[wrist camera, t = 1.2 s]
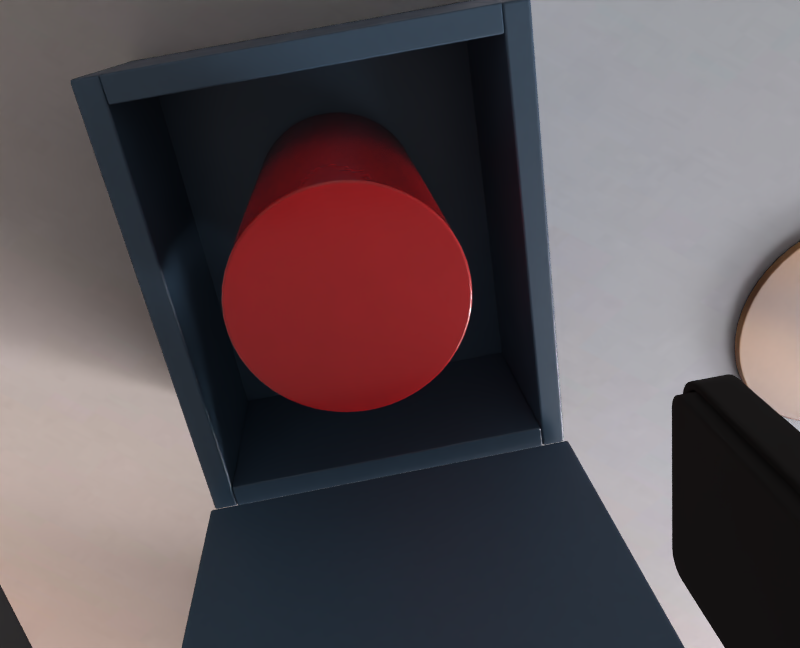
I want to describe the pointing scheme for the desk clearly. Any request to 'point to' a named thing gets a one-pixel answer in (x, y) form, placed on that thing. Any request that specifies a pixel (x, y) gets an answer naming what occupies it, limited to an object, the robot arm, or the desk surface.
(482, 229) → the blue rectangular box
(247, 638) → the lid
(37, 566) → the desk surface
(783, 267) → the coaster
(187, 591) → the desk surface
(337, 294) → the can
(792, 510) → the robot arm
